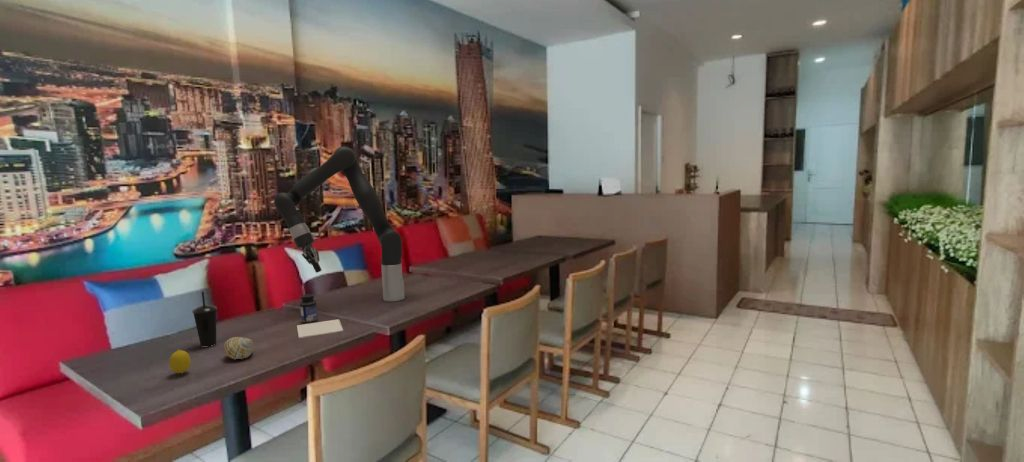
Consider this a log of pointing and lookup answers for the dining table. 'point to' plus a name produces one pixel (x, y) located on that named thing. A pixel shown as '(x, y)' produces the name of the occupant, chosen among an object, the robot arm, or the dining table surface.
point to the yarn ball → (238, 348)
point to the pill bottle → (308, 309)
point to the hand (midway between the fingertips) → (319, 271)
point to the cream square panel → (319, 328)
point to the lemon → (180, 361)
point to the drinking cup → (206, 323)
